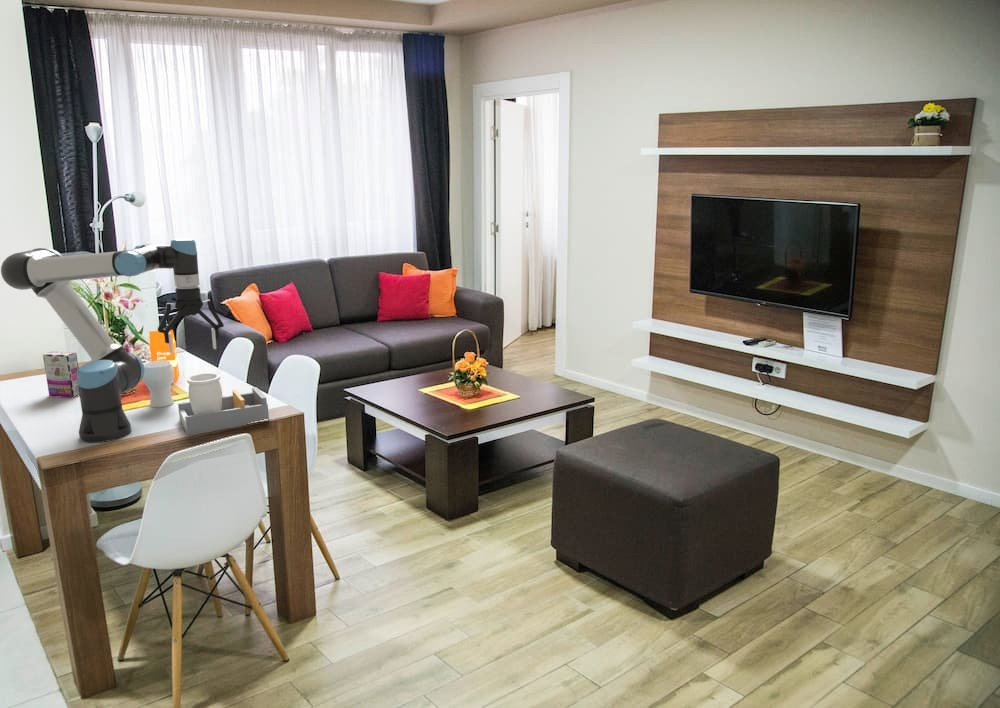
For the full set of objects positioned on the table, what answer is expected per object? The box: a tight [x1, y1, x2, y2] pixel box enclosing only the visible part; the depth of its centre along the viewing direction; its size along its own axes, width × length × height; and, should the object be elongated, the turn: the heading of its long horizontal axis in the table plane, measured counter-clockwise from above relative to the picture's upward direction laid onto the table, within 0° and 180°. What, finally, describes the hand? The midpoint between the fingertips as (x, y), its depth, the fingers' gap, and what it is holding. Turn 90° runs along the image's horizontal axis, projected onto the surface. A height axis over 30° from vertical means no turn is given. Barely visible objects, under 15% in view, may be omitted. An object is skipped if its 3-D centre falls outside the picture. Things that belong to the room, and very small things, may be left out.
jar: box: [186, 372, 223, 415], centre depth 270 cm, size 11×10×15 cm
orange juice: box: [148, 329, 180, 382], centre depth 323 cm, size 8×9×20 cm
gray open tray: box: [177, 386, 270, 436], centre depth 274 cm, size 26×17×8 cm, turn 119°
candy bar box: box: [42, 351, 80, 398], centre depth 304 cm, size 11×5×16 cm, turn 76°
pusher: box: [231, 389, 249, 408], centre depth 277 cm, size 4×14×7 cm, turn 29°
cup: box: [142, 361, 174, 408], centre depth 292 cm, size 11×11×15 cm
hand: (193, 350), depth 268 cm, fingers open, 13 cm apart
